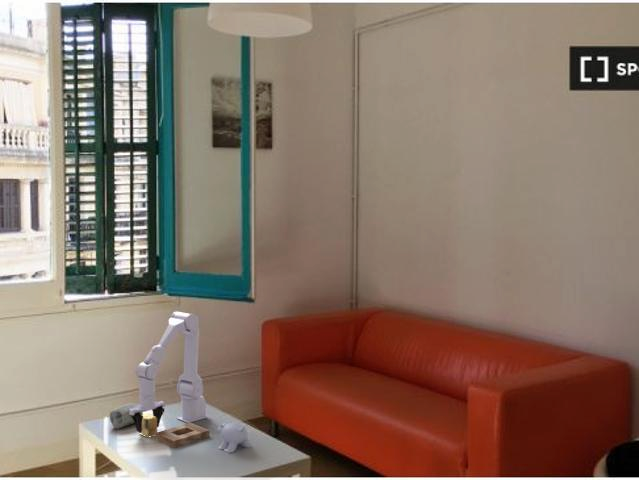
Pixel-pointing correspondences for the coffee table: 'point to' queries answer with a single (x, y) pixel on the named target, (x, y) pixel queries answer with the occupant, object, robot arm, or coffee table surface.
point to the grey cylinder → (122, 416)
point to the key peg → (149, 425)
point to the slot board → (182, 434)
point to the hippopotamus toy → (233, 436)
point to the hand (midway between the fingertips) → (147, 429)
